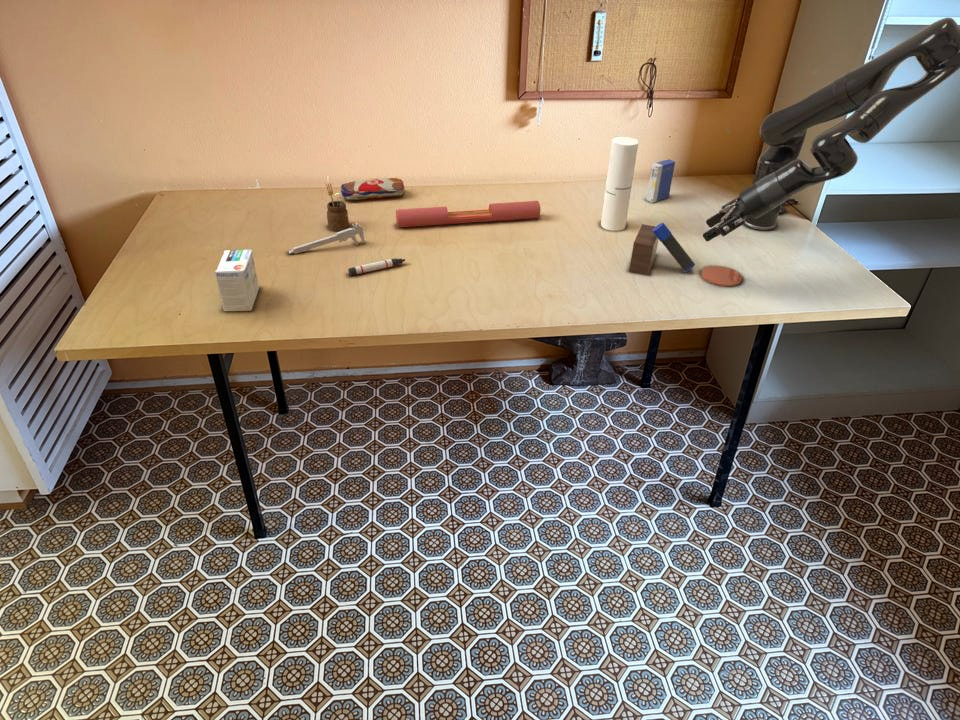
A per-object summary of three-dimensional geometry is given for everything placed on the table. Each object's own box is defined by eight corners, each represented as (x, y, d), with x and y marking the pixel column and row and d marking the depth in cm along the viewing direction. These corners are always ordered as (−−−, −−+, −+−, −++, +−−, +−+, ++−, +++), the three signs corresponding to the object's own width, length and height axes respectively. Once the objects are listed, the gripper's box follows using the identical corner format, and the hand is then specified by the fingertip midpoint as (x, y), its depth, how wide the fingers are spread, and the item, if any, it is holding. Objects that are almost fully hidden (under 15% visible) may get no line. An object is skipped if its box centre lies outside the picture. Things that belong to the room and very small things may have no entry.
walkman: (662, 194, 225) (668, 157, 218) (668, 197, 224) (675, 160, 216) (645, 200, 221) (651, 162, 214) (652, 202, 220) (658, 165, 213)
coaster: (703, 264, 187) (704, 262, 187) (742, 271, 185) (743, 269, 184) (699, 281, 180) (699, 279, 179) (739, 289, 177) (740, 287, 177)
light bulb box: (232, 288, 172) (223, 249, 166) (260, 288, 173) (252, 248, 167) (223, 312, 164) (213, 271, 157) (252, 311, 164) (244, 270, 158)
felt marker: (647, 261, 188) (655, 219, 181) (694, 269, 185) (703, 226, 178) (645, 266, 186) (652, 224, 179) (692, 275, 182) (702, 232, 175)
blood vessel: (535, 213, 212) (536, 198, 209) (540, 220, 208) (541, 204, 205) (396, 222, 204) (395, 206, 201) (398, 230, 200) (397, 214, 197)
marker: (351, 277, 178) (350, 270, 177) (348, 273, 180) (347, 266, 178) (407, 264, 184) (406, 258, 183) (404, 261, 186) (403, 254, 184)
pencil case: (402, 204, 215) (401, 189, 212) (338, 203, 215) (336, 187, 212) (406, 190, 224) (405, 175, 221) (344, 188, 224) (342, 173, 221)
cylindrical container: (624, 231, 203) (638, 146, 188) (600, 229, 204) (611, 143, 189) (625, 221, 208) (638, 137, 194) (601, 219, 209) (612, 135, 195)
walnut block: (637, 251, 193) (642, 223, 188) (655, 255, 191) (660, 227, 186) (629, 271, 184) (633, 242, 179) (648, 275, 182) (653, 246, 177)
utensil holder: (335, 233, 198) (331, 193, 191) (323, 225, 202) (318, 186, 195) (353, 227, 201) (349, 187, 194) (341, 220, 205) (337, 180, 198)
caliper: (363, 242, 194) (361, 221, 190) (364, 244, 193) (362, 222, 190) (288, 253, 188) (285, 231, 184) (289, 255, 187) (285, 233, 184)
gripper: (773, 218, 162) (712, 254, 172) (775, 196, 173) (717, 231, 183) (755, 193, 160) (694, 231, 170) (758, 172, 171) (700, 208, 181)
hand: (706, 231), depth 176 cm, fingers open, 8 cm apart
